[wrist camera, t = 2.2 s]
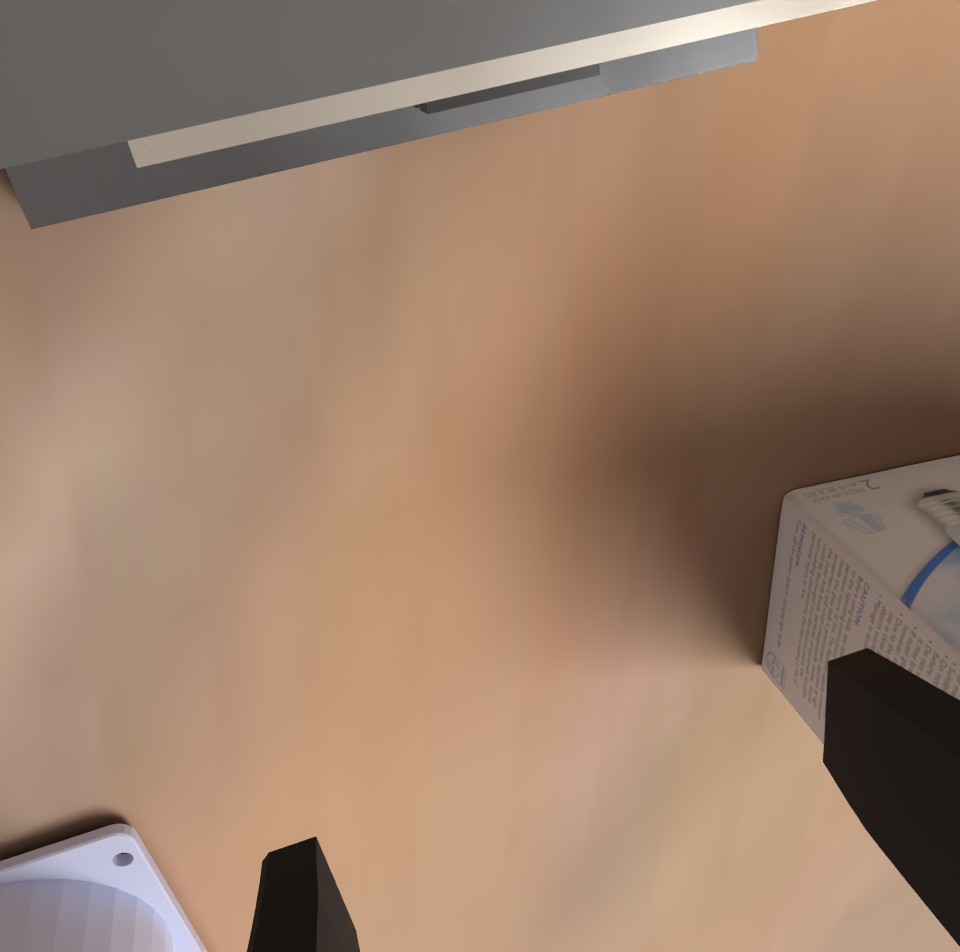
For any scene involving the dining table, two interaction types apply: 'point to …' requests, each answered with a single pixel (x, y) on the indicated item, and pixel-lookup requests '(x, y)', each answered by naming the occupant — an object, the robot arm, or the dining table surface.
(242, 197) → the dining table surface
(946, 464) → the light bulb box
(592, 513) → the dining table surface
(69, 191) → the grey unit
